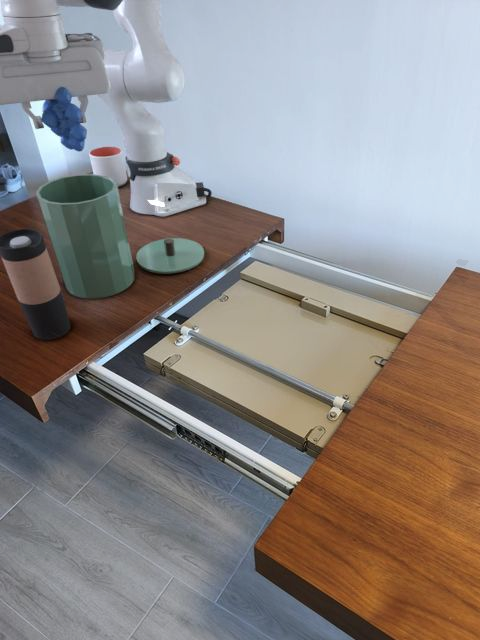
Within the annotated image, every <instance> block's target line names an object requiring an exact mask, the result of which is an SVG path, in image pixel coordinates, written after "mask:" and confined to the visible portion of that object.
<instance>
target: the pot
mask: <svg viewBox="0 0 480 640" xmlns="http://www.w3.org/2000/svg"><path fill="white" fill-rule="evenodd" d="M35 195H36V198H37V201H38V205H39V209H40V211H41V214H42V217H43V220H44V224H45V227H46V230H47V233H48V236H49V239H50V243H51V245H52V248H53V251H54V255H55V259H56V261H57V264H58V267H59V270H60V274H61V277H62V280H63V283H64V286H65V289H66V291H68V293H70V294H71V295H73V296H75V297H77V298H81V299H90V300H91V299H102V298H107V297H111V296H115V295H117V294H119V293H122V292H123V291H126V289H128V288H129V287H130V286H131V285H132V283H134V281H135V277H136V276H135V273H136V272H135V267H134V261H133V257H132V252H131V247H130V242H129V236H128V232H127V227H126V222H125V217H124V213H123V208H122V201H121V198H120V192H119V187H117V184H116V182H115V181H114V180H113V179H111V178H109V177H106V176H102V175H95V174H93V173H87V174H86V173H84V174H83V173H82V174H81V173H80V174H79V173H78V174H72V175H66V176H60V177H58V178H54V179H51V180H48V181H47V182H45V183H43V184H42V185H40V186H39V187H38V189H37V190H36V192H35Z"/></svg>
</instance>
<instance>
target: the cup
mask: <svg viewBox="0 0 480 640" xmlns="http://www.w3.org/2000/svg"><path fill="white" fill-rule="evenodd" d="M88 156H89V160H90V165H91V169H92V174H95V175H102V176H106V177H109V178H111V179H113V180H114V181H115V182H116V184H117V187H118V188H119V187H122V186H124V185H125V184H126V183H127V182H128V173H127V168H126V162H125V158H124V152H123V150H122V148H121V147H117V146H101V147H97V148H93V149H91V150H90V151H89V152H88Z"/></svg>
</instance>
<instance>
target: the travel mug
mask: <svg viewBox="0 0 480 640" xmlns="http://www.w3.org/2000/svg"><path fill="white" fill-rule="evenodd" d="M0 257H1V261H2V262H3V263H2V264H3V265H4V269H5V270H6V273H7V275H8V278H9V280H10V284H11V285H12V289H13V291H14V293H15V296H16V299H17V301H18V303H19V305H20V307H21V310H22V311H23V314H24V316H25V318H26V320H27V321H26V322H27V323H28V325H29V327H30V330H31V331H32V334H33V336H34V337H35V338H37V339H39V340H42V341H50V340H55V339H58V338H61V337H63V336H64V335H66V334H67V333H68V332H69V331H70V329H71V321H70V317H69V314H68V310H67V307H66V304H65V301H64V296H63V293H62V289H61V286H60V285H59V281H58V278H57V275H56V272H55V269H54V266H53V262H52V260H51V257H50V254H49V251H48V249H47V245H46V243H45V240H44V236H43V234H42V232H41V231H40V230H37V229H34V228H20V229H19V228H18V229H14V230H11V231H7V232H6V233H4V234H2V235H0Z"/></svg>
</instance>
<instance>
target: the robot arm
mask: <svg viewBox="0 0 480 640" xmlns="http://www.w3.org/2000/svg"><path fill="white" fill-rule="evenodd" d="M0 5H1V7H0V8H1V15H2V18H3V22H4V24H1V25H0V106H5V105H14V104H20V106H21V108H22V110H23V111H24V112H25V113H26V114H27V115H28V116H29V118H31V120H32V123H33V126H34V129H36V130H39V129H40V130H41V129H44V128H45V126H44V125H45V124H44V123H43V122H42V115H35V114H34V113H33V111H32V110H30V109H32V105H31V103H32V102H40V101H45V100H50V99H56V98H55V97H54V96H55V93H56V91H57V90H58V89H59V88H60V87H64V88H66V89H67V90H68V91H69V92H70V93H71V96H72V98H75V97H77V99H78V100H77V101H79V102H80V105H79V107H78V108H79V109H80V110H81V111H82V117H81V120H80V122H79V123H80V124H86V123H87V118H86V111H87V109H88V105H89V99H88V96H94V95H95V96H98V97H100V98H101V100H102V101H103V102H104V103H105V104H106V105H107V106H108V108H109V109H110V111H111V112H112V114H113V116H114V117H115V119H116V121H117V124H118V126H119V129H120V132H121V137H122V140H123V144H124V149H125V155H126V156H125V168H126V174H127V177H128V178H129V184H130V198H129V199H130V201H129V208H130V209H131V210H132V211H133V212H135V213H138V214H142V215H151V216H153V215H154V216H156V217H162V218H165V217H168V216H172V215H175V214H179V213H182V212H185V211H187V210H190V209H194V208H196V207H200V206H203V205H206V203H207V198H208V199H210V198H211V197H212V194H213V193H212V190H211V189H210V188H207V187H205V186H204V182H203V181H201V182H196V181H195V179H194V177H192V176H191V175H190V174H189V173H187V172H186V171H185V170H183V169H182V168H179V167H177V166H179V165H180V164H181V160H180V158H178V157H177V156H175V155H173V154H172V153H170V152H168V151H167V143H166V135H165V129H164V125H163V124H162V122H161V120H159V118H157V117H156V116H155V115H153V114H152V113H151V112H149V110H148V109H147V107H146V106H145V104H144V103H154V104H163V103H169V102H174V101H175V102H176V101H177V100H178V99H179V98H180V97H181V95H182V94H183V92H184V89H185V82H186V79H185V78H186V77H185V72H184V68H183V67H182V65H181V63H180V61H179V60H178V58H176V57H175V56H174V54H173V53H172V51H170V49H169V47H168V45H167V43H166V39H165V38H164V37H165V36H164V33H163V29H162V28H163V27H162V0H0ZM60 7H65V8H67V7H68V8H93V9H98V10H106V11H113V12H112V13H113V17H114V20H115V22H116V24H117V25H118V27H119V28H120V29H121V30H122V31H124V32H125V34H128V35H129V36H130V37H131V41H132V49H131V50H125V49H123V50H122V49H105V48H104V43H103V41H102V40H101V38H100V37H98V36H96V35H93V33H92V32H84V33H66V30H65V25H64V21H63V17H62V13H61V10H60ZM205 192H206V193H207V195H206V193H205Z"/></svg>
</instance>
